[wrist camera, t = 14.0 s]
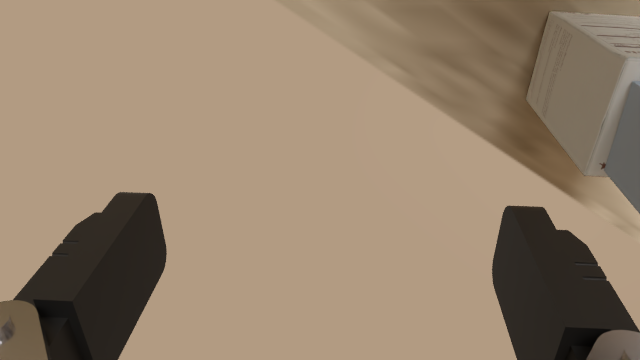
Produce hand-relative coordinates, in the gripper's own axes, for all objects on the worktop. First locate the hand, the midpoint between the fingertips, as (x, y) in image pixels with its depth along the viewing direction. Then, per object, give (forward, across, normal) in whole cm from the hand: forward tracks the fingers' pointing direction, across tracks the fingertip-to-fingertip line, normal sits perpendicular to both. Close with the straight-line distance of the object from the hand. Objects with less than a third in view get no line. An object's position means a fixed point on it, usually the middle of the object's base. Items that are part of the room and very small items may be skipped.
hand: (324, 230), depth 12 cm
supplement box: (+30, -18, +5) cm, 36 cm away
